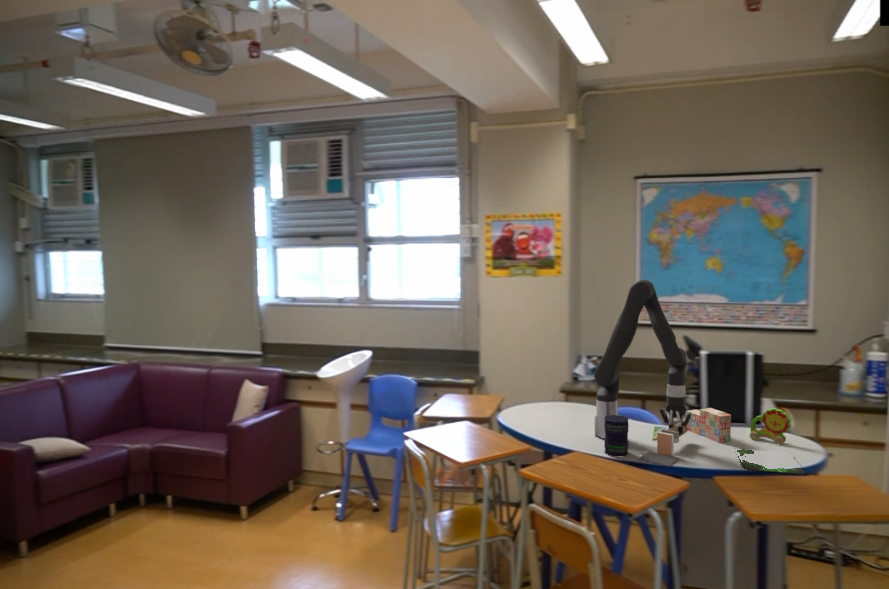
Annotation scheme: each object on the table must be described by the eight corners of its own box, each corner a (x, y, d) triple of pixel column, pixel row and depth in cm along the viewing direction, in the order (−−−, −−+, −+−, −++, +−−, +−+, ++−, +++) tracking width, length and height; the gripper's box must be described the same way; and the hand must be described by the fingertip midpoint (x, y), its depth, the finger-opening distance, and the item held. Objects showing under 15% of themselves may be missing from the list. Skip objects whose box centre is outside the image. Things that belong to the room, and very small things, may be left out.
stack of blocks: (685, 429, 287) (685, 404, 286) (696, 428, 289) (696, 402, 288) (719, 443, 266) (719, 415, 265) (730, 441, 268) (731, 414, 267)
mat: (637, 460, 248) (637, 458, 248) (648, 452, 256) (648, 451, 256) (669, 466, 240) (669, 465, 239) (679, 459, 248) (679, 457, 248)
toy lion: (748, 439, 270) (749, 406, 269) (753, 436, 274) (753, 403, 273) (788, 447, 259) (788, 412, 258) (792, 444, 263) (792, 409, 262)
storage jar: (604, 448, 263) (603, 414, 262) (627, 449, 261) (627, 415, 260) (604, 456, 253) (604, 421, 252) (629, 457, 251) (629, 422, 250)
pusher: (675, 429, 272) (676, 420, 272) (691, 432, 268) (692, 423, 267) (661, 439, 259) (661, 429, 259) (677, 442, 255) (678, 432, 254)
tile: (657, 453, 255) (657, 432, 254) (659, 452, 256) (659, 431, 256) (671, 456, 251) (671, 435, 250) (673, 455, 252) (673, 434, 252)
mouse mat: (733, 448, 260) (733, 446, 260) (791, 452, 253) (791, 450, 253) (743, 471, 234) (743, 468, 234) (807, 476, 227) (807, 474, 227)
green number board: (652, 441, 272) (676, 443, 269) (652, 438, 272) (676, 440, 269) (654, 428, 291) (676, 430, 287) (654, 425, 291) (676, 427, 287)
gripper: (656, 394, 263) (656, 433, 264) (689, 398, 254) (689, 439, 255) (663, 390, 268) (663, 428, 270) (695, 395, 259) (695, 434, 261)
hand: (675, 433), depth 262 cm, fingers closed on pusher, 3 cm apart
